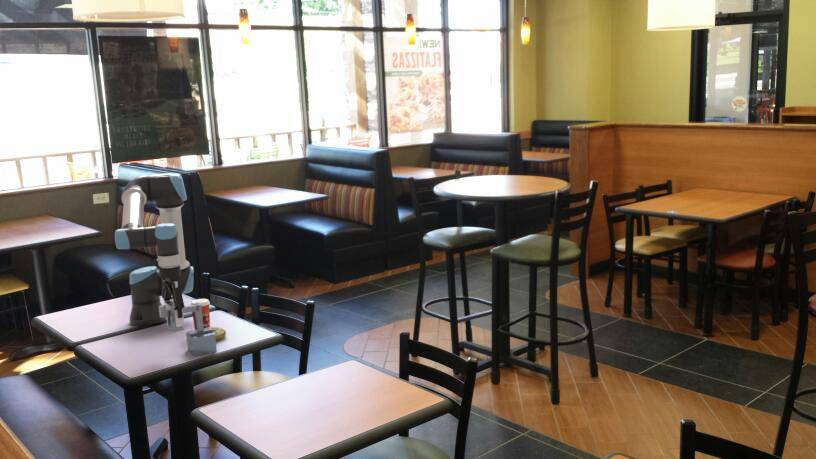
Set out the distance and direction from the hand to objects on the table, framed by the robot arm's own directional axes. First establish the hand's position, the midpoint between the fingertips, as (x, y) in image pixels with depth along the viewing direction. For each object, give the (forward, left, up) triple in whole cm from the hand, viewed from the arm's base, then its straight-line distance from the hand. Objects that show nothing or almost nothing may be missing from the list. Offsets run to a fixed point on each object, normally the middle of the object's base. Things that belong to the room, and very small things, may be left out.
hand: (175, 321), depth 273 cm
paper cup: (-20, +16, -13) cm, 29 cm away
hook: (0, 0, -3) cm, 3 cm away
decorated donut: (-12, +17, -14) cm, 25 cm away
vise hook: (0, +4, -13) cm, 14 cm away
